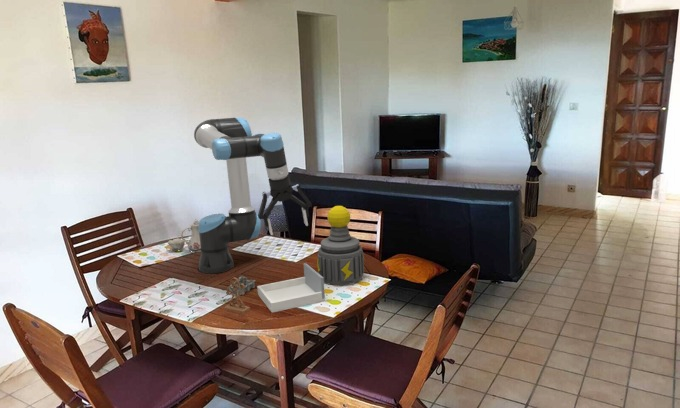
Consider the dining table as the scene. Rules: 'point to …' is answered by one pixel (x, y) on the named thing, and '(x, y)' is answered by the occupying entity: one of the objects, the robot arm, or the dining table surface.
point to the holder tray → (293, 291)
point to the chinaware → (193, 242)
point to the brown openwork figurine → (232, 305)
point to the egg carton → (244, 281)
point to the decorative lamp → (340, 251)
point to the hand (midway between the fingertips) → (289, 229)
